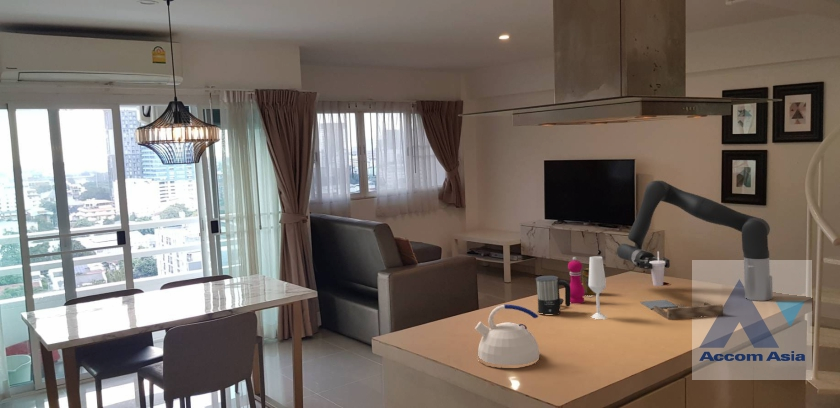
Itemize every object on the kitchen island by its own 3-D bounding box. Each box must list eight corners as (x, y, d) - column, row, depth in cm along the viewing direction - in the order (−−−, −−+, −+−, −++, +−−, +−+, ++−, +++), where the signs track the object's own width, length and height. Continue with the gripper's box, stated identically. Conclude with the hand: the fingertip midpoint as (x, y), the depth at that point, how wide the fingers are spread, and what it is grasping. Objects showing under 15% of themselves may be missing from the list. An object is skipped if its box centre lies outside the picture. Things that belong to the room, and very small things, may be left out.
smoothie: (668, 286, 243) (667, 252, 242) (653, 287, 244) (651, 253, 242) (662, 282, 250) (661, 249, 249) (647, 283, 250) (646, 250, 249)
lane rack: (705, 307, 240) (705, 297, 239) (723, 315, 227) (722, 305, 226) (654, 311, 239) (653, 301, 239) (668, 319, 226) (668, 309, 226)
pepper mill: (587, 300, 262) (585, 255, 261) (582, 304, 256) (580, 258, 255) (571, 299, 266) (569, 255, 265) (566, 303, 260) (563, 258, 259)
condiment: (600, 293, 274) (599, 267, 273) (590, 297, 268) (589, 271, 267) (586, 291, 279) (584, 266, 278) (576, 295, 273) (575, 269, 272)
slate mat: (666, 301, 253) (666, 299, 253) (678, 307, 242) (678, 306, 242) (640, 303, 252) (640, 301, 252) (651, 309, 242) (651, 308, 241)
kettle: (477, 349, 206) (473, 298, 205) (537, 347, 204) (534, 296, 203) (476, 370, 186) (473, 314, 185) (543, 368, 184) (540, 311, 183)
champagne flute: (597, 320, 231) (594, 259, 229) (586, 316, 237) (583, 257, 235) (611, 317, 234) (608, 257, 232) (599, 314, 240) (597, 255, 238)
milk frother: (542, 317, 242) (540, 280, 240) (528, 308, 257) (526, 274, 256) (575, 313, 244) (573, 277, 243) (558, 304, 260) (557, 270, 259)
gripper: (626, 251, 260) (642, 258, 243) (659, 249, 260) (676, 255, 243) (627, 268, 260) (642, 276, 244) (659, 266, 261) (677, 273, 244)
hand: (659, 266), depth 244 cm, fingers closed on smoothie, 6 cm apart
